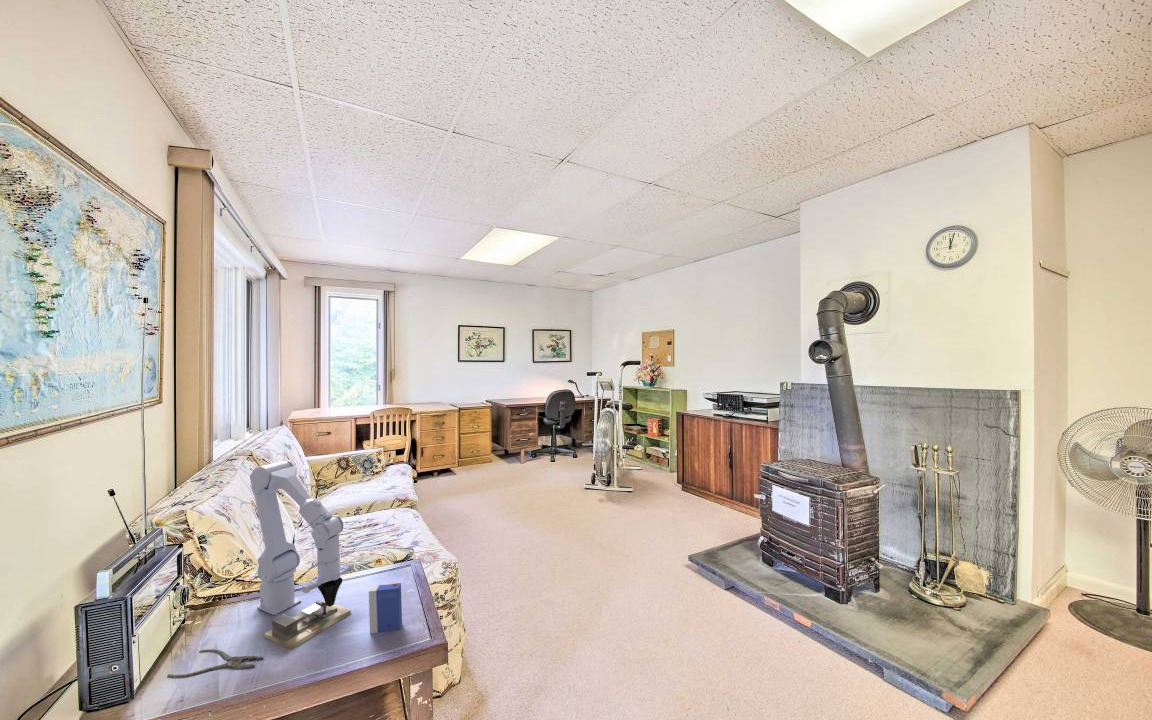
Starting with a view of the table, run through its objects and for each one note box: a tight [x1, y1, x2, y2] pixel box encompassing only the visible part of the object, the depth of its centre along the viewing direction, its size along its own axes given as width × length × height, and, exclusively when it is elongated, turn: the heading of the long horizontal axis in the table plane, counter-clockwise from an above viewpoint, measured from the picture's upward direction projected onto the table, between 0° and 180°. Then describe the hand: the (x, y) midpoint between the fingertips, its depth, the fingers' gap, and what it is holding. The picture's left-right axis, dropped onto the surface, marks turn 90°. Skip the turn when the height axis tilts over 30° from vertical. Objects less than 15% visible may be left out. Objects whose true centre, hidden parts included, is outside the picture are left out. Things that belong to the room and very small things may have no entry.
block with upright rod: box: [301, 600, 326, 623], centre depth 120 cm, size 5×7×3 cm
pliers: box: [167, 648, 264, 679], centre depth 107 cm, size 10×1×20 cm
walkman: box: [368, 582, 403, 634], centre depth 117 cm, size 8×3×12 cm, turn 99°
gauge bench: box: [264, 600, 352, 650], centre depth 120 cm, size 17×12×5 cm
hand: (330, 604), depth 125 cm, fingers closed
